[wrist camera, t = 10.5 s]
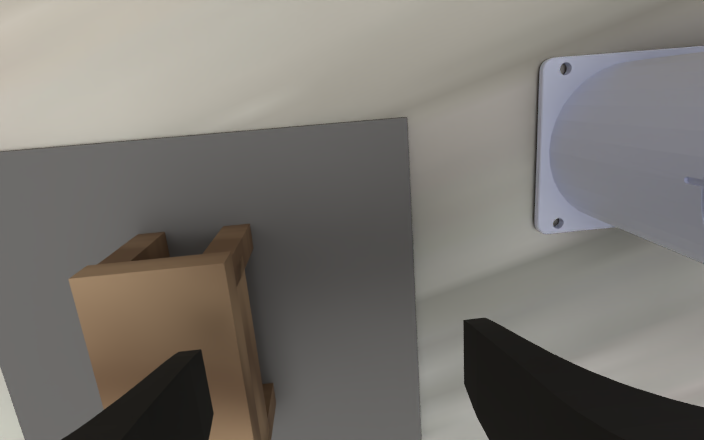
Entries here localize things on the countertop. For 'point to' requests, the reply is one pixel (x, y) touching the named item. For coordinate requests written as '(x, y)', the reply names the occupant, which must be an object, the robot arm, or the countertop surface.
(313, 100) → the countertop surface
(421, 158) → the countertop surface
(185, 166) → the mat
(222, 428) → the stool
